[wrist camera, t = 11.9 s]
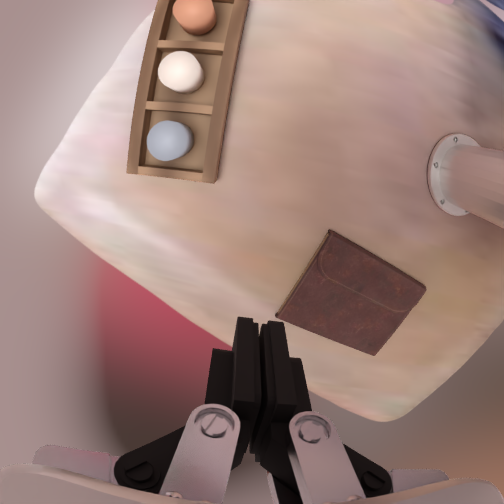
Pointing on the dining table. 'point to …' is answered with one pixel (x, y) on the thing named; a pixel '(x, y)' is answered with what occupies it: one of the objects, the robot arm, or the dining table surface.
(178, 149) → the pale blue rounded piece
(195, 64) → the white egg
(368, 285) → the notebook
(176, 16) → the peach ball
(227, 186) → the dining table surface
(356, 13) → the dining table surface
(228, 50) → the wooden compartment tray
